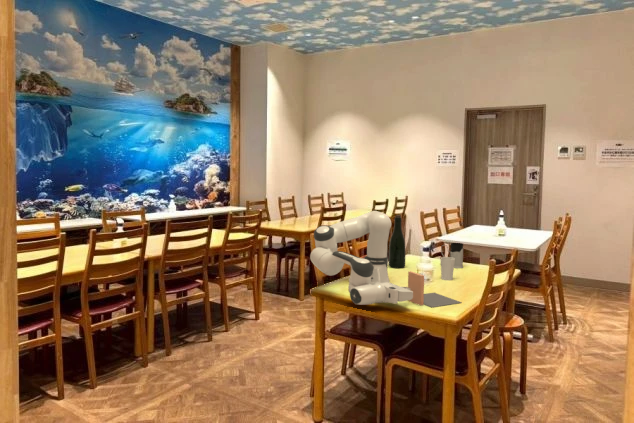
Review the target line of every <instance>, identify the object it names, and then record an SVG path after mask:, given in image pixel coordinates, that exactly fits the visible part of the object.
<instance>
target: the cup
mask: <svg viewBox="0 0 634 423" xmlns="http://www.w3.org/2000/svg"><path fill="white" fill-rule="evenodd" d="M454 262H455V258H451V257H450V256H444V257H443V256H442V257H440V271H441V272H440V274H441V275H440V276H441V278H440V279H441V280H443V281H453V280H454V278H453V277H454V269H455V268H454Z"/></svg>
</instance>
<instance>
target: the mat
mask: <svg viewBox="0 0 634 423" xmlns="http://www.w3.org/2000/svg"><path fill="white" fill-rule="evenodd" d="M458 304H462V301H458V300H456V299H453V298H451V297H447V296H445V295H442V294H439V293H436V292H429V293H427V292H426V293H424V303H423V306H426V307H429V308H432V307H433V308H438V307H446V306H451V305H458Z"/></svg>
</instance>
